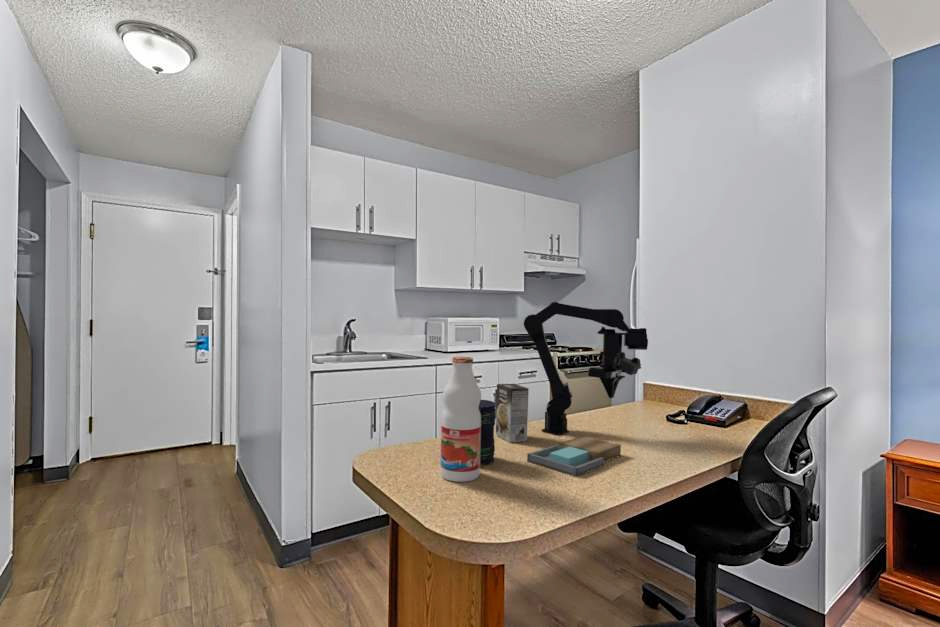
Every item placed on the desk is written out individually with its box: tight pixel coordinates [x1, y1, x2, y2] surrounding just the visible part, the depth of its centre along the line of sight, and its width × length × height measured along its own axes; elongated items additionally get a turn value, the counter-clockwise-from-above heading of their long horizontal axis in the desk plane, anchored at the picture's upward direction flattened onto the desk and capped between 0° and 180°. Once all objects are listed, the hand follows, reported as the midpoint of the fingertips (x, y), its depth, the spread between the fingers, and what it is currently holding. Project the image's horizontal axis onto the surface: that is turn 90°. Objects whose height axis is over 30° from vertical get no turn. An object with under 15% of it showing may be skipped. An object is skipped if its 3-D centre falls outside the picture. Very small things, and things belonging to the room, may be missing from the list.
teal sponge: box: [550, 447, 589, 466], centre depth 126 cm, size 6×9×2 cm, turn 134°
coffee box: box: [495, 383, 530, 444], centre depth 148 cm, size 9×6×16 cm
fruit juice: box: [439, 356, 482, 483], centre depth 115 cm, size 9×9×28 cm
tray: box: [526, 444, 605, 477], centre depth 125 cm, size 15×12×2 cm
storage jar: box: [479, 399, 496, 466], centre depth 127 cm, size 10×10×15 cm
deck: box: [560, 435, 622, 462], centre depth 133 cm, size 12×11×3 cm
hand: (611, 397), depth 154 cm, fingers closed
